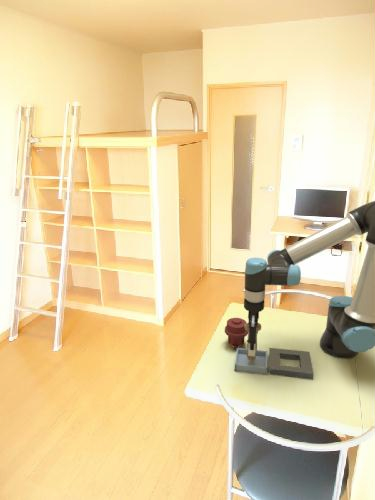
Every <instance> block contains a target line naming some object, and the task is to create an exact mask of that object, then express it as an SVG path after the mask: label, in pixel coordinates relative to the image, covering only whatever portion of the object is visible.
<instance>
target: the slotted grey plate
mask: <svg viewBox="0 0 375 500" xmlns="http://www.w3.org/2000/svg"><path fill="white" fill-rule="evenodd" d="M281 359H282V360H290V361H291V360H292V361H298V362H299V366H294V365H293V366H292V365H282V364H281ZM268 374H269V375H271V376H280V377H289V378H296V379H297V378H300V379H306V380H314V374H315V373H314V368H313V363H312V359H311V353H310V351H304V350H295V349H286V348H276V347H269V348H268Z"/></svg>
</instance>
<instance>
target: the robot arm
mask: <svg viewBox="0 0 375 500" xmlns="http://www.w3.org/2000/svg"><path fill="white" fill-rule="evenodd" d="M364 234H366V236H365V242H366V244H367V245H368V247H367V250H366V253H365V257H364V260H363V263H362V267H361V270H360V273H359V276H358V279H357V283H356V286H355V290H354V293H353V295H352V296H346V295H336V296H333V297H331V298H330V299H329V302H328V308H327V309H328V310H327V317H326V324H325V325H326V328H325V330H324V332H323V333H322V335H321V336H320V339H319V346H320V349H321V350H322V351H324V353H326V354H328V355H329V356H332V357H335V358H339V359H340V358H341V359H350V358H354V357H356V356H357V355H358V354H359V353H363V352H368V351H370V350H372V349H373V348H374V347H375V200H374V201H370V202H367V203H365V204H363V205H360V206H357V208H354V209H352V210H350V211H349V212H347V213H346V215H345V217H343V218H341V219H339V220H337V221H335V222H333V223H332V224H330V225H327V226H325V227H324V228H322V229H319V230H318V231H316V232H314V233H312V234H310V235H308V236H307V237H304V238H302V239H301V240H298V241H296V242H295V243H292V244H291V245H289V246H287V247H285V248H283V249H281V250H280V249H274V250H271V251H270V252H269V253H268V254H267V257H266V259H264V258H263V257H262V258H261V257H251V258H248V259H247V260H246V262H245V270H244V289H243V290H242V292H243V293H244V298H243V307H244V309H245V310H246V311H248V313H247V318H248V322H247V323H248V324H249V325H250V327H249V340H248V339H247V340H246V343H247V342H249V344H248V356H255V348H256V326H257V325H258V323H259V318H260V315H259V314H260V312H262V311H263V310H264V309H265V299H266V286H283V287H284V286H285V287H290V286H299V284H300V283H301V278H302V277H301V275H302V273H301V267H300V266H299V265H298V264H299V263H301V262H303V261H305V260H307V259H309V258H311V257H313V256H316V255H318V254H320V253H322V252H324V251H326V250H327V249H330V248H331V247H333V246H336V245H337V244H339V243H342V242H344V241H345V240H348V239H350V238H352V237H354V236H355V235H357V236H361V235H364ZM258 334H259V331H258V332H257V335H258Z"/></svg>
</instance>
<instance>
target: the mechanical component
mask: <svg viewBox="0 0 375 500" xmlns="http://www.w3.org/2000/svg"><path fill="white" fill-rule="evenodd" d="M246 323H247V321H246V320H245V319H243V318H240V317H231V318H229V319H227V321H226V325H225V327H224V333H225V334H226V336H227V343H228V345H230V346H231V347H233V349H234V350H237V348H240V347H242V346H244V344H245V337H247V336H248V331H246V330H245V328H244V325H245V324H246Z"/></svg>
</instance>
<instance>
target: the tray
mask: <svg viewBox="0 0 375 500" xmlns="http://www.w3.org/2000/svg"><path fill="white" fill-rule="evenodd" d="M234 372H238V373H239V372H240V373H248V374H256V375H263V376H267V375H268V350H262V349H260V350H259V349H257V353H256V359H254V360H253V361H252V360H248V358H247V348H241V347H238V348H237V349H236V353H235V360H234Z"/></svg>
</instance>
